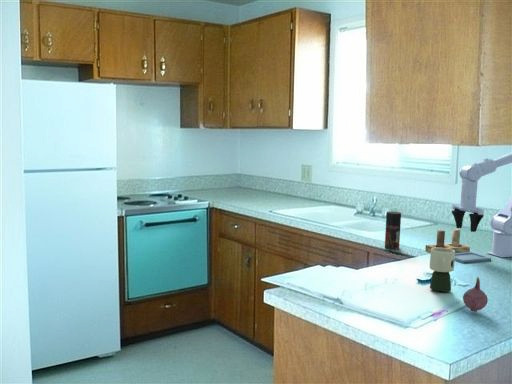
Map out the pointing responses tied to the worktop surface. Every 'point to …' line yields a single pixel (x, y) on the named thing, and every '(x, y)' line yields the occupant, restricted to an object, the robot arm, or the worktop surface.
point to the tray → (470, 257)
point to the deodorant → (392, 230)
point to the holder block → (448, 245)
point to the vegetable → (475, 297)
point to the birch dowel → (455, 237)
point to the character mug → (441, 268)
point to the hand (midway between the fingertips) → (466, 229)
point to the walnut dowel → (440, 238)
